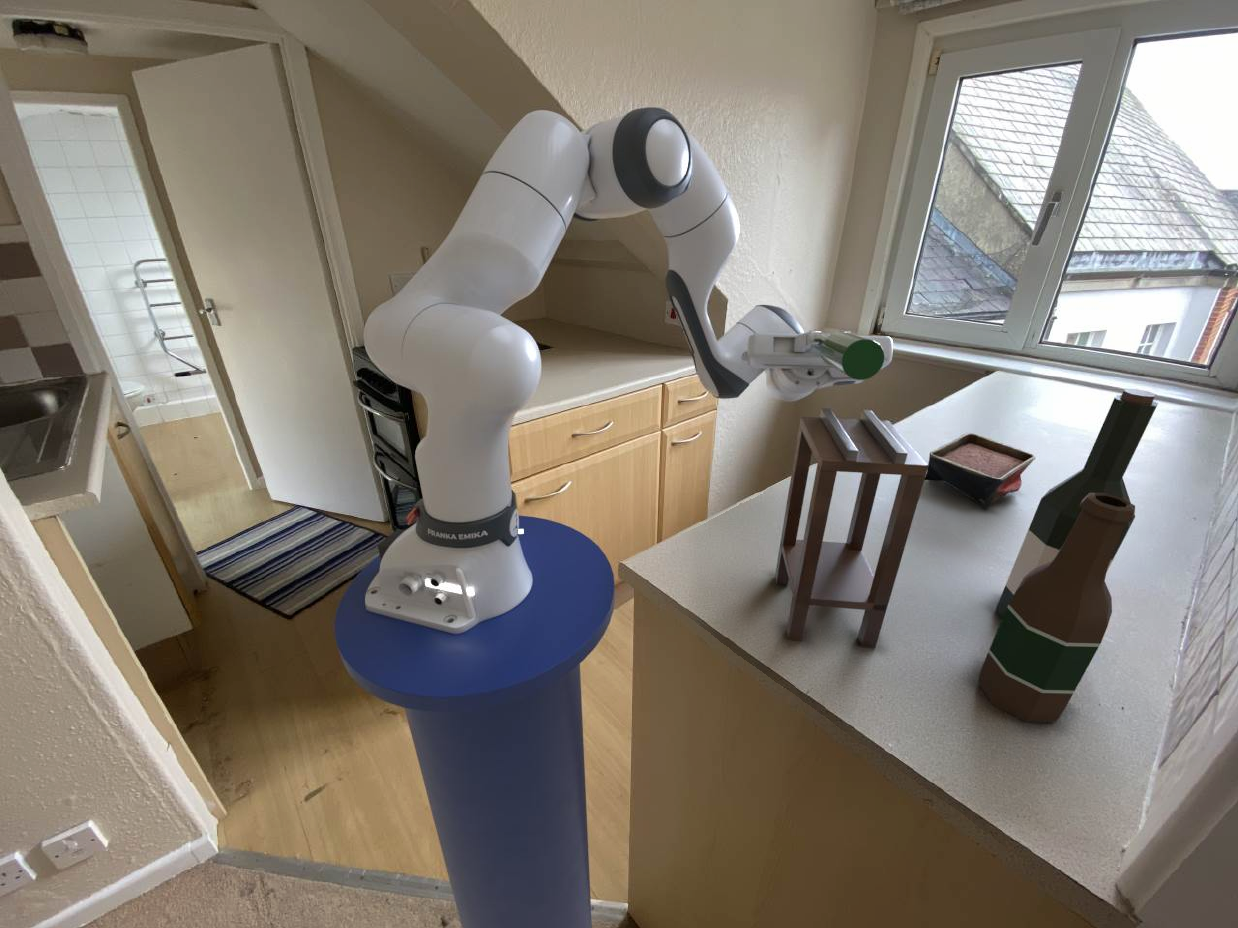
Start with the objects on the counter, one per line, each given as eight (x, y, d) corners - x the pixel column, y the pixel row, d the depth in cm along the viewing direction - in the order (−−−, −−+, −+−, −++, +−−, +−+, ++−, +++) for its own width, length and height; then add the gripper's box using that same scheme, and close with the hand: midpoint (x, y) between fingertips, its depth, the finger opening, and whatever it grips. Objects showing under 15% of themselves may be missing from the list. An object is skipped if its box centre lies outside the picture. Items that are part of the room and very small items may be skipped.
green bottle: (877, 383, 58) (890, 342, 56) (836, 376, 58) (848, 336, 57) (833, 361, 75) (842, 329, 74) (802, 355, 76) (811, 324, 74)
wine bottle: (1068, 611, 68) (1179, 387, 54) (1083, 656, 61) (1214, 412, 48) (991, 591, 71) (1078, 376, 58) (998, 632, 64) (1097, 398, 51)
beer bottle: (1052, 679, 58) (1150, 488, 47) (1073, 738, 52) (1192, 533, 41) (970, 657, 61) (1045, 472, 50) (980, 710, 54) (1069, 511, 44)
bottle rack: (788, 639, 63) (824, 449, 52) (774, 576, 74) (802, 407, 63) (875, 647, 62) (932, 454, 51) (848, 582, 73) (890, 410, 62)
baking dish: (1031, 503, 96) (1050, 450, 93) (985, 517, 86) (1004, 459, 83) (949, 477, 107) (964, 429, 104) (900, 487, 98) (915, 435, 95)
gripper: (740, 341, 86) (752, 311, 72) (872, 344, 84) (910, 314, 70) (738, 379, 86) (750, 356, 72) (870, 383, 83) (908, 361, 70)
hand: (830, 336), depth 71 cm, fingers closed on green bottle, 2 cm apart
